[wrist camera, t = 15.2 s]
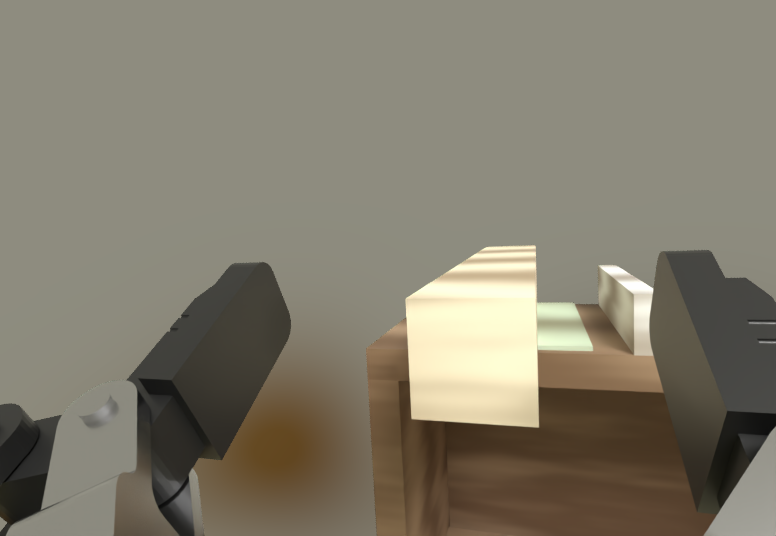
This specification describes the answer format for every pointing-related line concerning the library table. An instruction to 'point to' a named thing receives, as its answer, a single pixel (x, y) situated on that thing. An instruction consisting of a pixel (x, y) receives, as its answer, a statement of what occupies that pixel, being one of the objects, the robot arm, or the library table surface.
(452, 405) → the maple stick
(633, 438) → the dovetailed wooden cabinet
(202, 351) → the robot arm
